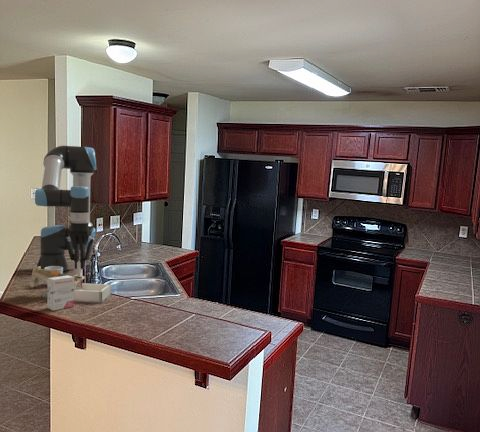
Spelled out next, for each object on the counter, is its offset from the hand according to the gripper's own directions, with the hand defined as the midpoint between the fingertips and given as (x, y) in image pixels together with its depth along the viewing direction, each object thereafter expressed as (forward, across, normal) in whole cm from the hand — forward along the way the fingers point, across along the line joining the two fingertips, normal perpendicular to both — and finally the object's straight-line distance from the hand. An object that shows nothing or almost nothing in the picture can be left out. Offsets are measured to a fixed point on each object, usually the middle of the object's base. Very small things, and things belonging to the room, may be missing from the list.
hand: (79, 276), depth 194 cm
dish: (+7, +8, -9) cm, 14 cm away
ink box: (+7, +1, -23) cm, 24 cm away
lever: (+4, -8, -4) cm, 10 cm away
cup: (+7, -16, +8) cm, 19 cm away
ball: (-2, -8, -8) cm, 12 cm away
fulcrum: (+7, -8, -8) cm, 13 cm away
